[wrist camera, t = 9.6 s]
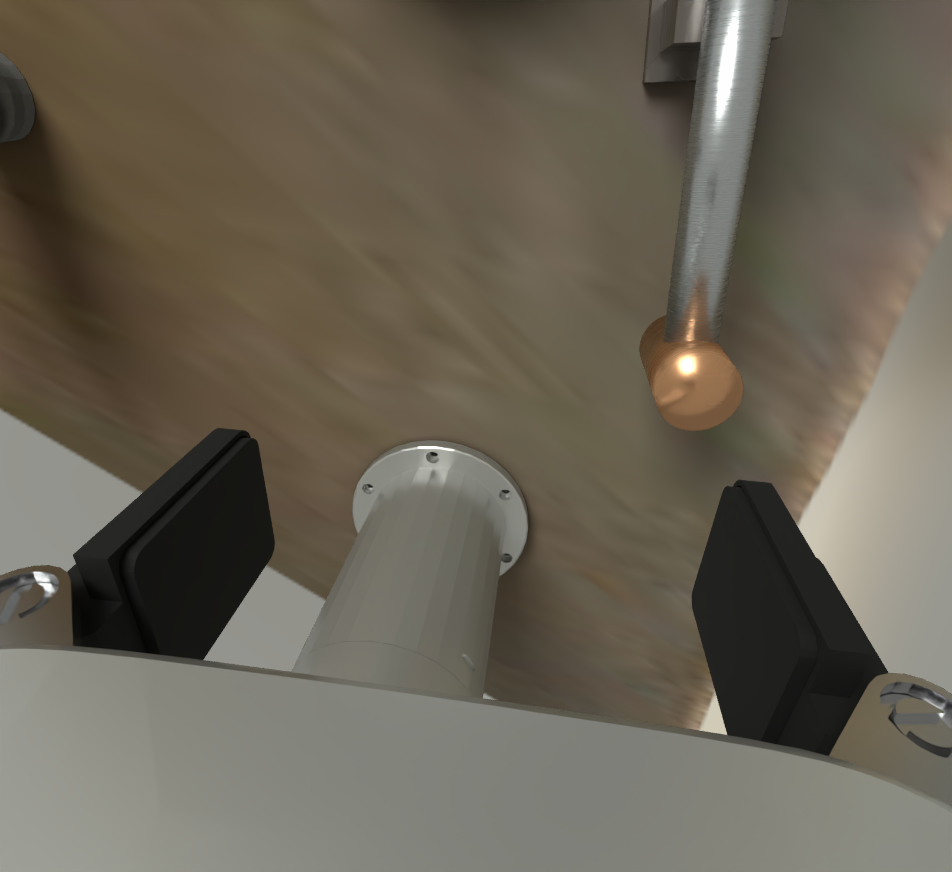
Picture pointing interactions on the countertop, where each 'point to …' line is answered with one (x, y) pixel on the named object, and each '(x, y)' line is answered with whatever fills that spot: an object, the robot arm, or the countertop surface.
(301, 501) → the countertop surface
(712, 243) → the hook rod
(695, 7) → the cradle
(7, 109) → the beverage cup
